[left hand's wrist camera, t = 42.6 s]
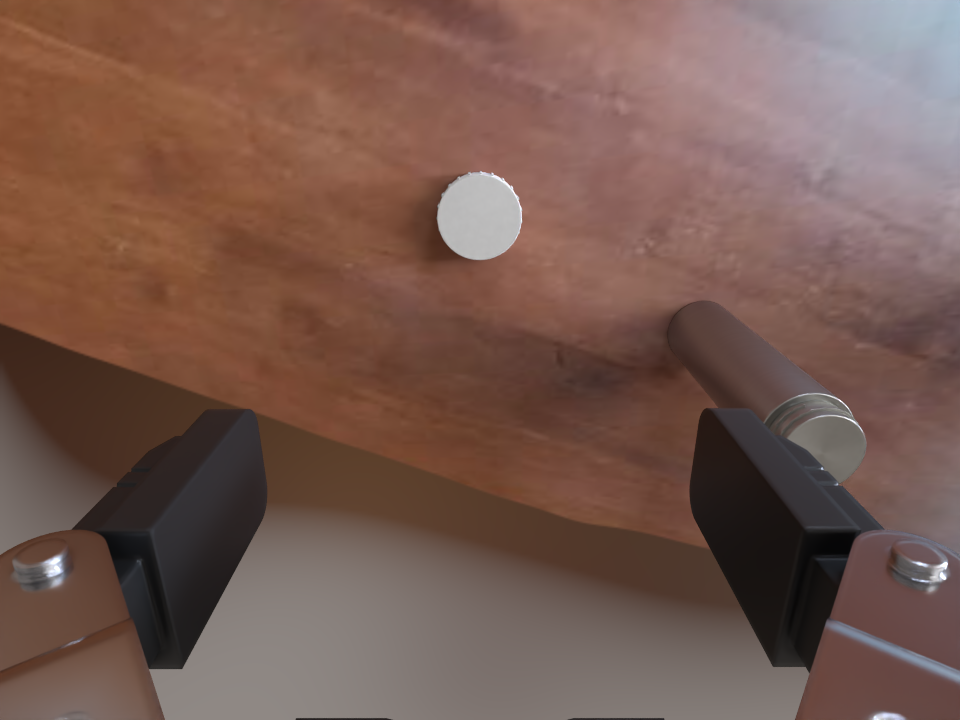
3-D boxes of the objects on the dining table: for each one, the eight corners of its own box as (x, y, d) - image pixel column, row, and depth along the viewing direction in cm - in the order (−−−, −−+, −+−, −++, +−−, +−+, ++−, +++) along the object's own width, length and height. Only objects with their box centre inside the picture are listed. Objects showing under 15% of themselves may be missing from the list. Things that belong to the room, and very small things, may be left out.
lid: (537, 222, 39) (539, 227, 38) (471, 271, 40) (471, 278, 39) (488, 152, 38) (488, 154, 36) (420, 206, 39) (418, 209, 37)
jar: (654, 329, 42) (752, 449, 27) (708, 287, 41) (842, 388, 26) (691, 373, 43) (805, 513, 28) (744, 334, 42) (893, 457, 27)
